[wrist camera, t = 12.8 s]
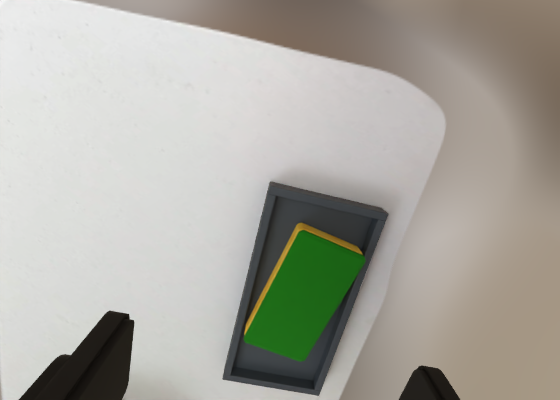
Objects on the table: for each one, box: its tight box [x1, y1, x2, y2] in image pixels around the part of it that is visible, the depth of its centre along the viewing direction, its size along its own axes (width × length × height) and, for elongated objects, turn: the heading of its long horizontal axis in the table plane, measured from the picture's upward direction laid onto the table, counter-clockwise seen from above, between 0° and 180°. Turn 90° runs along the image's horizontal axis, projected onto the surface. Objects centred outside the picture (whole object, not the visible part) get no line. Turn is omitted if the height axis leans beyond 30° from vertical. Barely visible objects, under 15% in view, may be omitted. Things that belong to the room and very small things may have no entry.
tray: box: [223, 182, 388, 396], centre depth 29 cm, size 24×12×2 cm, turn 166°
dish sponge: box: [244, 223, 366, 362], centre depth 28 cm, size 7×14×2 cm, turn 155°
